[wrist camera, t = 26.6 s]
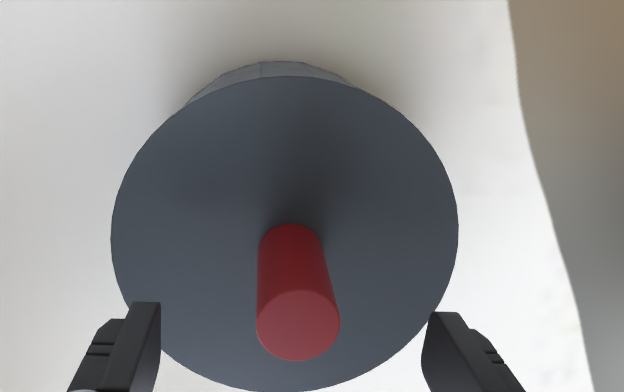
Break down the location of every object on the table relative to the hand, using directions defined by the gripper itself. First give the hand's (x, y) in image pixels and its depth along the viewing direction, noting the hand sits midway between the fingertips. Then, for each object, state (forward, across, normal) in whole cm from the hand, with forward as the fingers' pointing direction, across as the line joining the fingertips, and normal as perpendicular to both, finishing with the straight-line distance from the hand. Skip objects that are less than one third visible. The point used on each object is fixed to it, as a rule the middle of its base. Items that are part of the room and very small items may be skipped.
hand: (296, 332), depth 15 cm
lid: (+7, 0, +1) cm, 7 cm away
